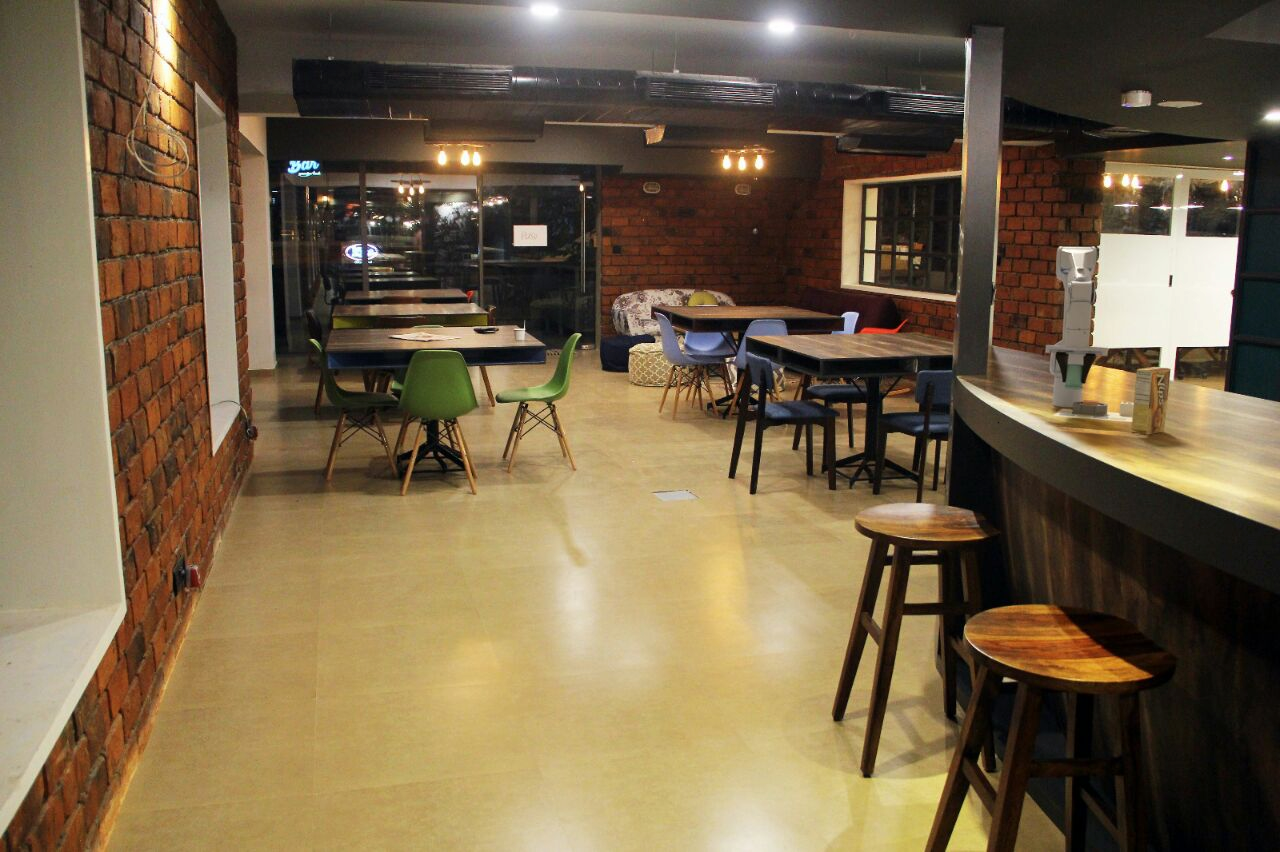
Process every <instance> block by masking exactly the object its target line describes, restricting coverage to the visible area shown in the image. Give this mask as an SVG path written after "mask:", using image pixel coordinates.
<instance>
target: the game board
mask: <svg viewBox="0 0 1280 852" xmlns="http://www.w3.org/2000/svg"><path fill="white" fill-rule="evenodd" d="M1081 404H1083V401H1081V402H1074V403H1073V407H1072V409H1071V408H1061V409H1059V410H1058V411H1056V412H1055V413H1054V414H1053V415H1052V417H1063V418H1064V417H1065V418H1075V419H1087V420H1102V421H1115V422H1126V423H1132V418H1133V407H1134V402H1127V401H1126V402H1125V401H1121V402H1120V404H1119V412H1111V411H1110V412H1109V411H1108V406H1109V405H1108V403H1103V402H1099V401H1098V405H1100V406H1092V405H1081Z"/></svg>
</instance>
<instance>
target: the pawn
mask: <svg viewBox="0 0 1280 852" xmlns="http://www.w3.org/2000/svg"><path fill="white" fill-rule="evenodd" d="M1082 375H1083V365H1078V364H1067V368H1066V382H1065V386H1064V388H1065V389H1074V390H1080V389H1082V390H1083V388H1084V386H1083V384H1082Z"/></svg>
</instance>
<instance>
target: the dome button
mask: <svg viewBox="0 0 1280 852" xmlns="http://www.w3.org/2000/svg"><path fill="white" fill-rule="evenodd" d="M1082 402H1083V404H1081V405H1092V406H1100V405H1098V402H1099V401H1098V400H1092V399H1090V400H1088V399H1087V400H1086V399H1085V400H1083V401H1082Z"/></svg>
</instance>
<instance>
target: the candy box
mask: <svg viewBox="0 0 1280 852" xmlns="http://www.w3.org/2000/svg"><path fill="white" fill-rule="evenodd" d="M1171 369H1172V368H1168V367H1160V366H1159V367H1158V366H1153V367H1151V366H1150V367H1144V368H1143V367H1142V368H1137V369H1136V376H1135V377H1136V379H1135V389H1134V399H1133V403H1134V407H1133V418H1132V422H1131V430H1136V431H1131V432H1132V433H1131V434H1135V433H1140V434H1139V435H1143V434H1146V435H1145V436H1147V434H1149V435H1152V434H1158V433H1163V431H1164V432H1165V428H1166V418H1167V409H1168V400H1169V398H1168V397H1169V389H1170V380H1171V379H1170V378H1171ZM1137 431H1143V432H1137Z"/></svg>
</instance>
